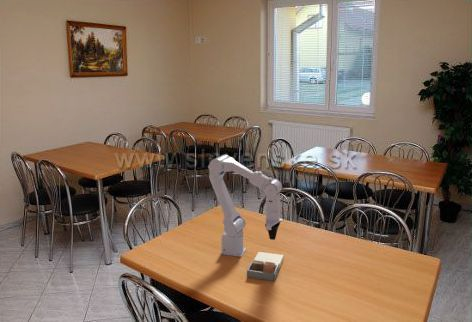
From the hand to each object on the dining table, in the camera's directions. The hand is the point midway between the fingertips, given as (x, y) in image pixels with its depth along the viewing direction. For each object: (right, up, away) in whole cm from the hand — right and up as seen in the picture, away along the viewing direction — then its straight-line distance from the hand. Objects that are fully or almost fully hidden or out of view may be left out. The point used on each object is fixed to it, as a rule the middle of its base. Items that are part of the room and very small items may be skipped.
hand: (272, 238), depth 167 cm
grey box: (-5, -12, -8) cm, 15 cm away
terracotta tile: (-2, -10, -8) cm, 13 cm away
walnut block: (-6, -9, -6) cm, 13 cm away
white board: (-2, -10, 0) cm, 10 cm away
